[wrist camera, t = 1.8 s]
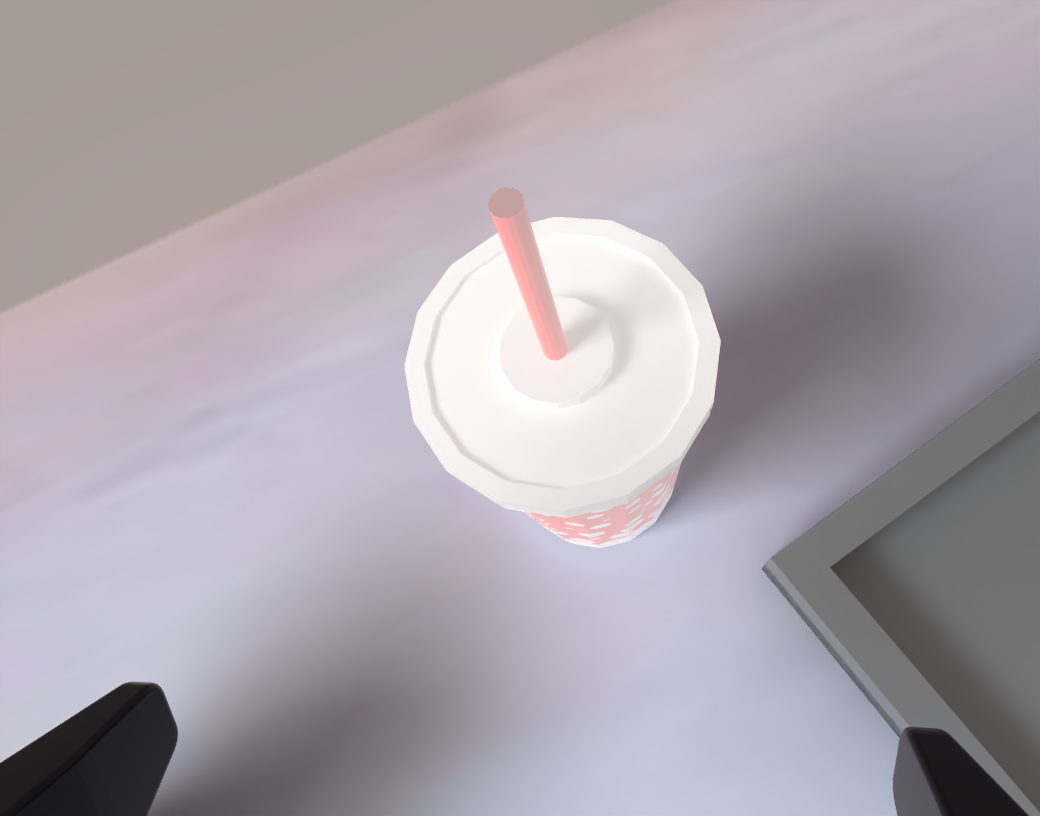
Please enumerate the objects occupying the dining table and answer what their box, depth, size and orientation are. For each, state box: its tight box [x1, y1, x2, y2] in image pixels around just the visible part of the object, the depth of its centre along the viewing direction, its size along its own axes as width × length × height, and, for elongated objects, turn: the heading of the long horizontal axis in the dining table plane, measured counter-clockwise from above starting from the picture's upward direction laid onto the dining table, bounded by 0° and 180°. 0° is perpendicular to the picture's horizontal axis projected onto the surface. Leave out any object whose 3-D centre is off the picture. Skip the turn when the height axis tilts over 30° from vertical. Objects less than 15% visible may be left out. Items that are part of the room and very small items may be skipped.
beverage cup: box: [404, 188, 721, 548], centre depth 17 cm, size 6×6×14 cm
